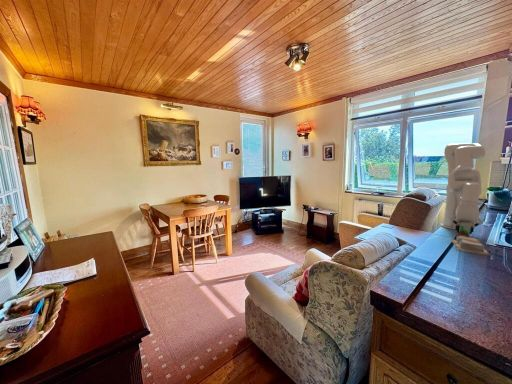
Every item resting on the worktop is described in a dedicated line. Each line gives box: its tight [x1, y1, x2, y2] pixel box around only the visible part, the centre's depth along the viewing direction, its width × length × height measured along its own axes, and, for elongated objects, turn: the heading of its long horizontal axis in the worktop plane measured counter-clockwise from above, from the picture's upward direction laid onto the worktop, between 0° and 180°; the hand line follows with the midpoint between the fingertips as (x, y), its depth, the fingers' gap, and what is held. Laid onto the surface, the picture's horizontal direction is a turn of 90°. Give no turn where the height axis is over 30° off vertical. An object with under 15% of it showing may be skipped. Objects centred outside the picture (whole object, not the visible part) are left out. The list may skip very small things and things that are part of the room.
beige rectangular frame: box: [451, 234, 490, 256], centre depth 121 cm, size 16×12×4 cm
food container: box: [456, 222, 473, 237], centre depth 135 cm, size 12×6×10 cm, turn 144°
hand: (463, 231), depth 136 cm, fingers closed on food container, 5 cm apart
